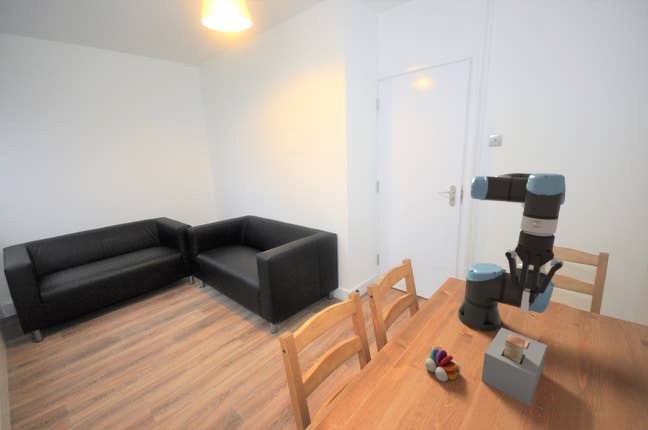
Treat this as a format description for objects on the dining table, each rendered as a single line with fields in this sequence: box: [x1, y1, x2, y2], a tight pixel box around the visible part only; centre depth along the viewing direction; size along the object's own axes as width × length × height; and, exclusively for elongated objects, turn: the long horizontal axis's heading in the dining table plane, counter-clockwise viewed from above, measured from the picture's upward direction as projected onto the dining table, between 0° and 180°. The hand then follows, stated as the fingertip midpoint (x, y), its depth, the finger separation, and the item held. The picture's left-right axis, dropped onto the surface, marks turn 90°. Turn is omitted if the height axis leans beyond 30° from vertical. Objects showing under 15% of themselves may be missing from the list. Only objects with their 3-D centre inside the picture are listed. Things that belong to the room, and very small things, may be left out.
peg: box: [503, 334, 526, 364], centre depth 80 cm, size 4×4×9 cm
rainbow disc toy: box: [424, 348, 462, 382], centre depth 87 cm, size 8×10×7 cm
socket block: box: [480, 326, 548, 407], centre depth 83 cm, size 12×16×10 cm
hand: (524, 311), depth 79 cm, fingers closed
